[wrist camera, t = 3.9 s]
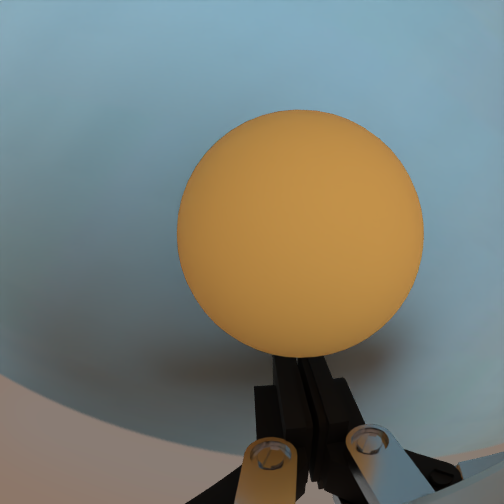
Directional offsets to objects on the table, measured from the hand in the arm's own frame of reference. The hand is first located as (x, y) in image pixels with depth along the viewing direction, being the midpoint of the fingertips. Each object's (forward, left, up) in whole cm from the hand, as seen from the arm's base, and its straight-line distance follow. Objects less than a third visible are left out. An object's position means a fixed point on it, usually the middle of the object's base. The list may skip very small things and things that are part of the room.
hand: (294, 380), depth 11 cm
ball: (0, +6, +2) cm, 6 cm away
